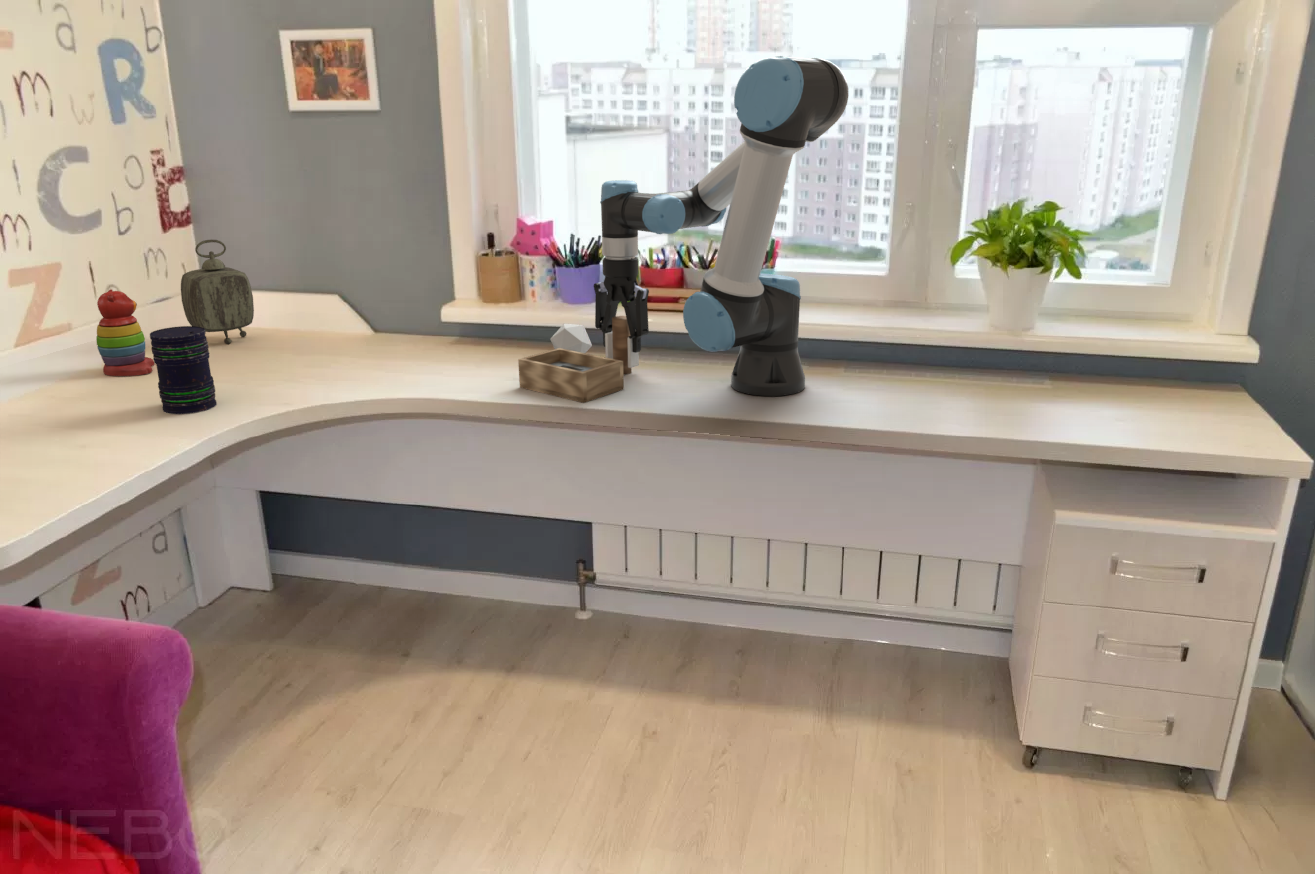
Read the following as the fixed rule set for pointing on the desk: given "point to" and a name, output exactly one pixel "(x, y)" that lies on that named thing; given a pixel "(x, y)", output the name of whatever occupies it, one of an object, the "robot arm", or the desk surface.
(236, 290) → the tabletop clock
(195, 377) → the storage jar
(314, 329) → the desk surface
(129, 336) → the bird stacking toy
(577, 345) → the die
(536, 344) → the desk surface
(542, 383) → the box
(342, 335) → the desk surface
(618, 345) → the peg
